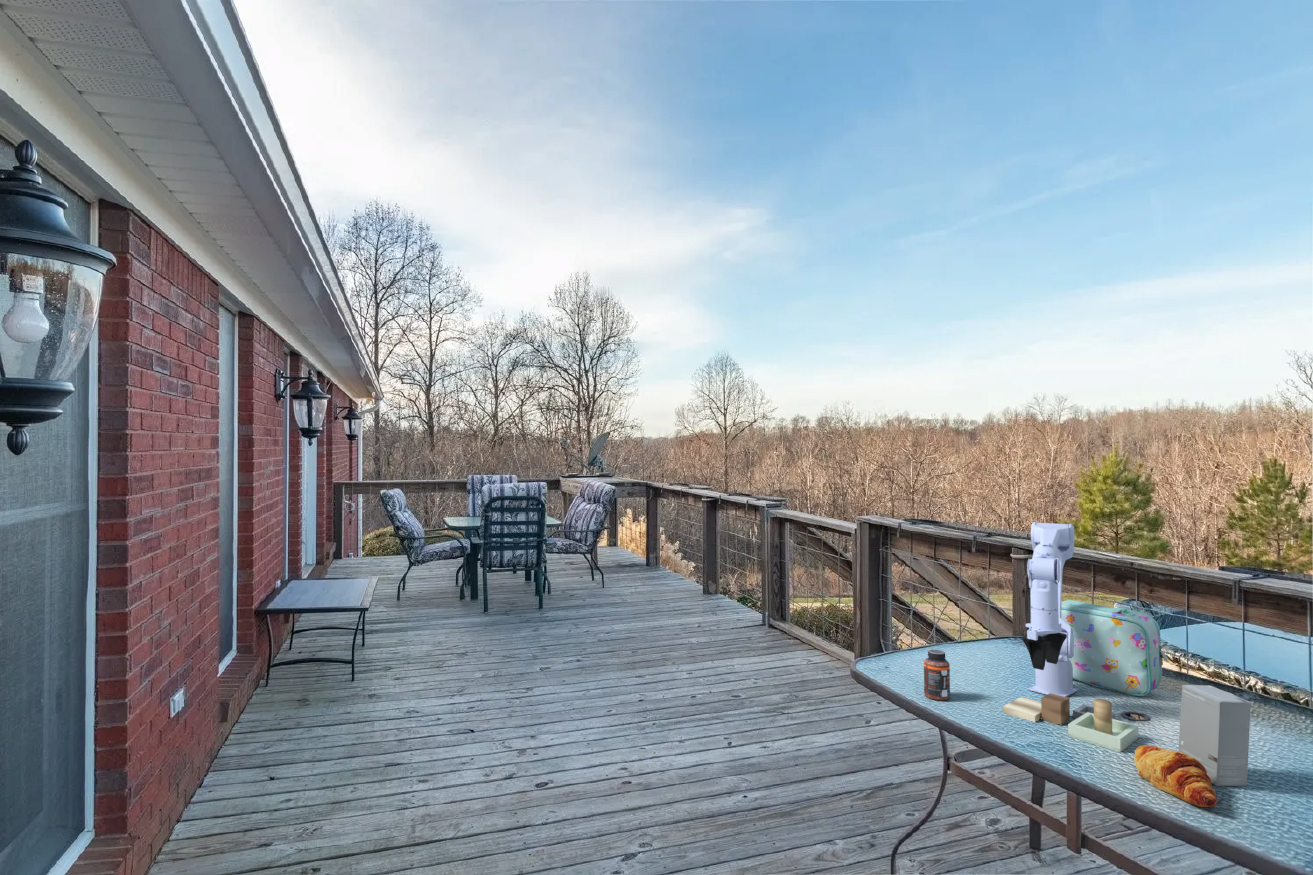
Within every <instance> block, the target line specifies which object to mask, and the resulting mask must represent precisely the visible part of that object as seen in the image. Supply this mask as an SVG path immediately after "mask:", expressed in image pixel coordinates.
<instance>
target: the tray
mask: <svg viewBox="0 0 1313 875" xmlns="http://www.w3.org/2000/svg"><path fill="white" fill-rule="evenodd" d="M1067 728H1068V729H1067V734H1068V737H1070V738H1073V739H1074V740H1075V739H1076V740H1078V741H1083V742H1086V743H1088V744H1092V745H1095V746H1099V747H1102V748H1104V749H1108V750H1112V751H1115V752H1118V753H1122V752H1123V751H1124V750H1125V749H1126V748H1128V747H1129V746H1131V745H1132V744H1133V743H1134V742H1136V741H1137V740H1138V739H1139V725H1137V724H1133V723H1130V722H1125V721H1122V720H1118V719H1116V718H1115V719H1112V735H1109V734H1106V733H1103V732H1099V731H1096V730H1094V714H1093V713H1089V712H1087V713H1085V714H1084V715H1082V716H1080V717H1079V718H1075V719H1074V720H1072V721H1071V722H1070V723H1068V724H1067Z"/></svg>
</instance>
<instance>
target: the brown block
mask: <svg viewBox="0 0 1313 875" xmlns="http://www.w3.org/2000/svg"><path fill="white" fill-rule="evenodd" d="M1040 698H1041V700H1040V702H1041V713H1042V719H1041V721H1044V720H1045V722H1048V723H1050V722H1051V723H1050V724H1054V725H1057V724H1060V725H1059V726H1063V725H1065V724H1067V723H1068V722H1069V721H1071V717H1070V716H1071V712H1070V711H1071V710H1070V709H1071V708H1070V705H1071V703H1070V697H1069V696H1067V697H1064V696H1060V695H1056V694H1052V693H1049V694H1047V695H1046V694H1044V695H1043V696H1041V697H1040ZM1062 724H1063V725H1062Z"/></svg>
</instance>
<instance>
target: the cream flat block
mask: <svg viewBox="0 0 1313 875" xmlns="http://www.w3.org/2000/svg"><path fill="white" fill-rule="evenodd" d="M1002 713H1003V714H1004V715H1008V716H1012V717H1014V718H1018V717H1019V719H1021V718H1022V720H1025V719H1026V720H1025V721H1028V720H1029V721H1028V722H1031V721H1033V722H1032V723H1037V722H1038V721H1040V720H1042V719H1041V718H1042V713H1041V701H1038V700H1034V699H1031V698H1027V697H1023V696H1020V697H1018V698H1016V699H1014V700H1012V701H1010V702H1009V703H1006V704H1005V705H1003V706H1002ZM1039 719H1040V720H1039ZM1036 721H1037V722H1036Z"/></svg>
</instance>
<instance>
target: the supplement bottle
mask: <svg viewBox="0 0 1313 875" xmlns="http://www.w3.org/2000/svg"><path fill="white" fill-rule="evenodd" d="M927 656H928V657H927V658H925V659H924V661H923V692H924V693H923V694H924V696H925V697H927V698H928V699H931V700H935V701H942V702H943V701H948V700H949V699H950V697H951V678H950V674H951V673H950V672H951V670H950V668H951V667H950V662H949V661H948V660H947V659H946V652H945V651H944V650H940V649H929V650H927Z"/></svg>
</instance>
